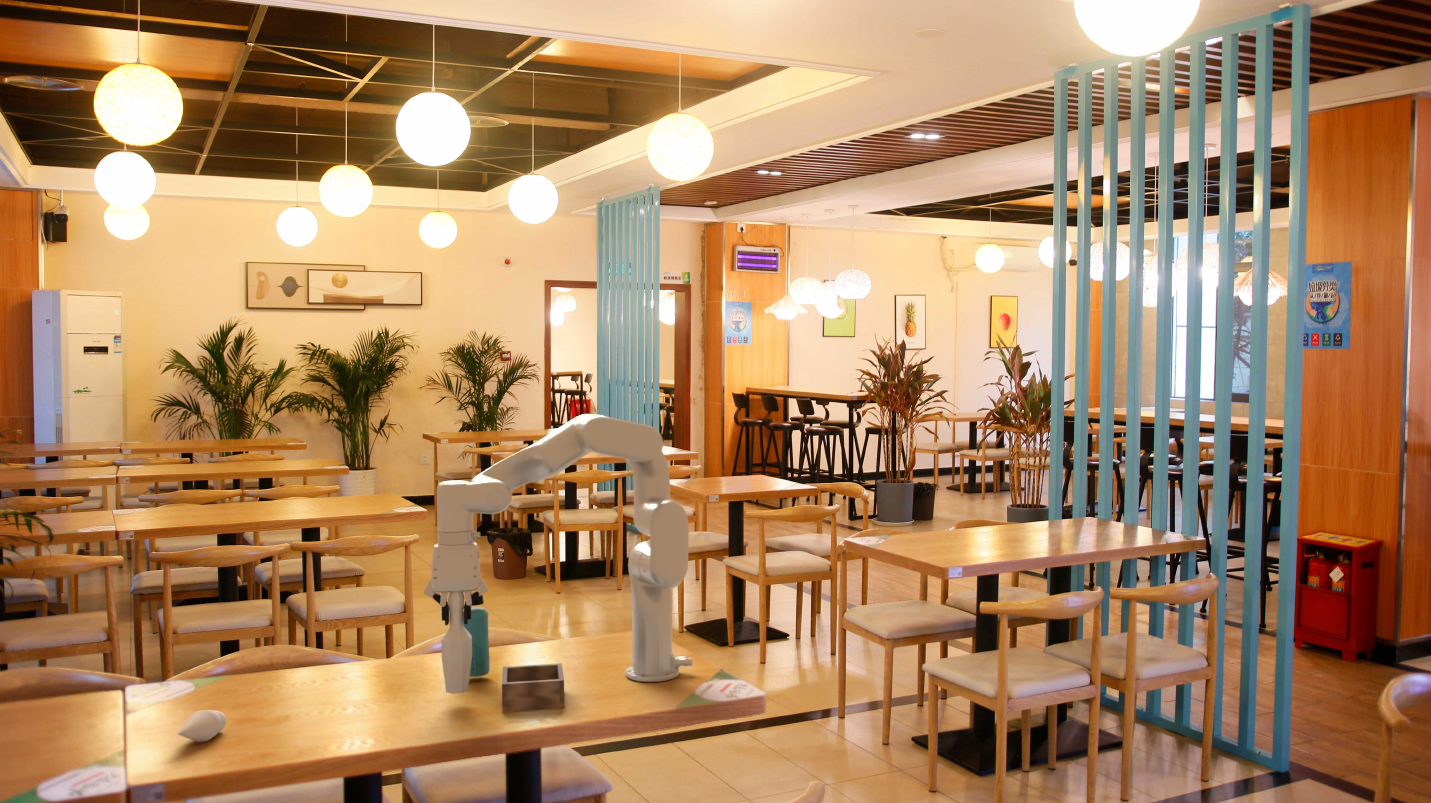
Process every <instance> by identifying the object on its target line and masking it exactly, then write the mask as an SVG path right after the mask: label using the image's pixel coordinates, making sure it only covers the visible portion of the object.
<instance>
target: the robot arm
mask: <svg viewBox="0 0 1431 803" xmlns="http://www.w3.org/2000/svg"><path fill="white" fill-rule="evenodd" d="M663 448H664V439H663V437H662V434H661V433H660V431H659V430H658V429H656V428H655V427H654V426H651V425H648V424H643V423H639V422H632V421H630V420H629V421H628V420H623V419H619V418H615V417H610V416H606V415H602V414H593V413H584V414H583V413H582V414H581V415H580V414H579V415H578V416H575V417H574V418H572V419H570V420H569V421H567V422H566V423H564V424H563V425H561V426H559V427H558V428H556V429H555V430H554V431H552V432H550V433H549V434H547V435H546V436H545V437H542V438H541V439H539V440H538V441H536V442H535V443H532V444H530V445H529V446H527V447H525V448H523V449H521V450H519V451H518V452H516V453H514V454H511V455H510V456H507V457H506V458H503V459H501V460H500V461H498V462H496V463H494V464H493V465H491V466H490V467H488V468H486V469H485V470H484V471H482V472H480V473H479V474H477V475H476V476H474V477H473V478H472V479H471V481H467V480H464V479H463V480H457V479H456V480H454V479H453V480H445V481H442V482H440V483H438V485H437V487H436V514H437V515H436V520H437V521H436V530H437V531H436V532H437V534H436V535H437V536H436V537H437V539H436V540H437V543H436V544H434V545H433V551H432V557H431V558H432V560H431V573H430V574H431V576H430V580H429V582H428V584H427V585H426V587H425V588H424V591H423V594H424V595H425V596H427V597H428V598H431V599H433V600H434V601H435V602H436V603H438V604H439V606H440V608H441V621H443V622H444V626H448V625H450V612H449V603H448V595H449V594H448V593H450V592H463V593H464V609H463V612H464V624H468V619H471V608H472V606H471V604H472V603H473V602H474V601H475V600H476V599H477V598H478V597H479V596H480V595H484V594H485V593H488V591H489V587H488V585H487V584H486V582H485V580H484V579H483V577H482V576H481V561H480V560H481V559H480V552H479V544H478V543H477V542H474V541H475V540H477V539H481V531H475V529H474V514H485V515H496V514H500V513H503V512H504V511H505V510H507V509H508V508H509V507H510V505H511V503H512V500H513V499H512V498H513V494H512V492H513V491H515V490H517V489H518V488H520V487H523V486H525V485H528V484H530V483H534V482H538V481H543V480H547V479H550V478H552V477H555V476H557V475H558V474H559V473H561V472H562V471H564V470H566V469H567V468H569V467H570V466H572V465H573V464H574V463H576V462H577V461H579V460H580V459H582V458H584V457H586V456H587V455H588V454H590V453H591V452H592V453H594V454H595V453H597V454H600V455H605V456H609V457H613V458H618V459H624V460H625V461H626V463H628V465H629V467H630V469H631V472H632V475H633V523H634V526H635V528H636V530H637V531H638V532H639V533H642V534H643V535H645V536H647V537H649V540H645V541H641V542H639V543H638V544H636V545H635V546H634V547H633V548H632V549H631V551H630V554H629V556H628V563H627V567H628V568H627V569H628V574H629V582H630V590H631V648H632V649H631V650H632V651H631V652H632V653H631V654H632V655H631V659H632V661H631V662H632V665H630V666H629V667H627V668H626V669H625V676H626V677H627V678H629V680H632V681H635V682H644V683H645V682H646V683H654V682H655V683H656V682H658V683H659V682H664V681H669V680H672V679H675V678H677V677H678V676H679V675H680V667H681V666H682V667H692V666H693V658H692V657H686V656H685V655H684V656H676V655H675V654H674V653H673V597H672V589H675V588H676V587H678V586H680V585H681V583H683V581H684V580H685V578H686V577H687V573H688V568H689V542H690V541H689V540H690V539H689V536H690V534H689V519H688V515H687V512H686V510H685V508H684V507H683V506H682V505H681V504H680V503H679V502H678V501H676V500H674V499H671V485H670V484H671V481H670V469H669V465H668V461H667V458H666V457H665V455H664V453H663Z"/></svg>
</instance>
